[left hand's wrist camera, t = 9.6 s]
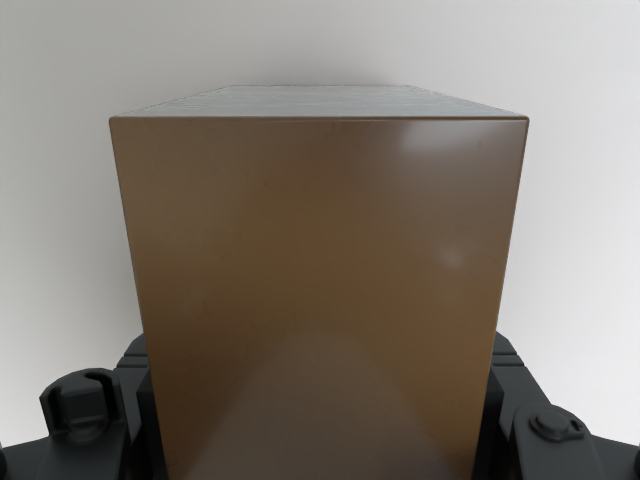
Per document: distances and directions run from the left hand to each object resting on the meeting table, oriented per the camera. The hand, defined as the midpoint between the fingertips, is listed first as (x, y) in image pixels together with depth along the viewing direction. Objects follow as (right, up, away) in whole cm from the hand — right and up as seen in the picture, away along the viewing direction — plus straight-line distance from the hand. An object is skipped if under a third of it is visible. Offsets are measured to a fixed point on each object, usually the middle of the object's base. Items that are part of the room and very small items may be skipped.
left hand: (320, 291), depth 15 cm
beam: (0, -20, +8) cm, 21 cm away
